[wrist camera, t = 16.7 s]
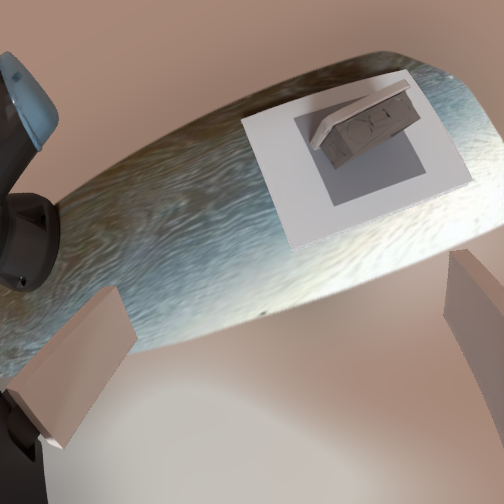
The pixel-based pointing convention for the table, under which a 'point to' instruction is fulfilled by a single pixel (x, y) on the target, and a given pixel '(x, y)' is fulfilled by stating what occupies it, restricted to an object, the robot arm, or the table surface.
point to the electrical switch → (365, 124)
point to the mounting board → (350, 164)
